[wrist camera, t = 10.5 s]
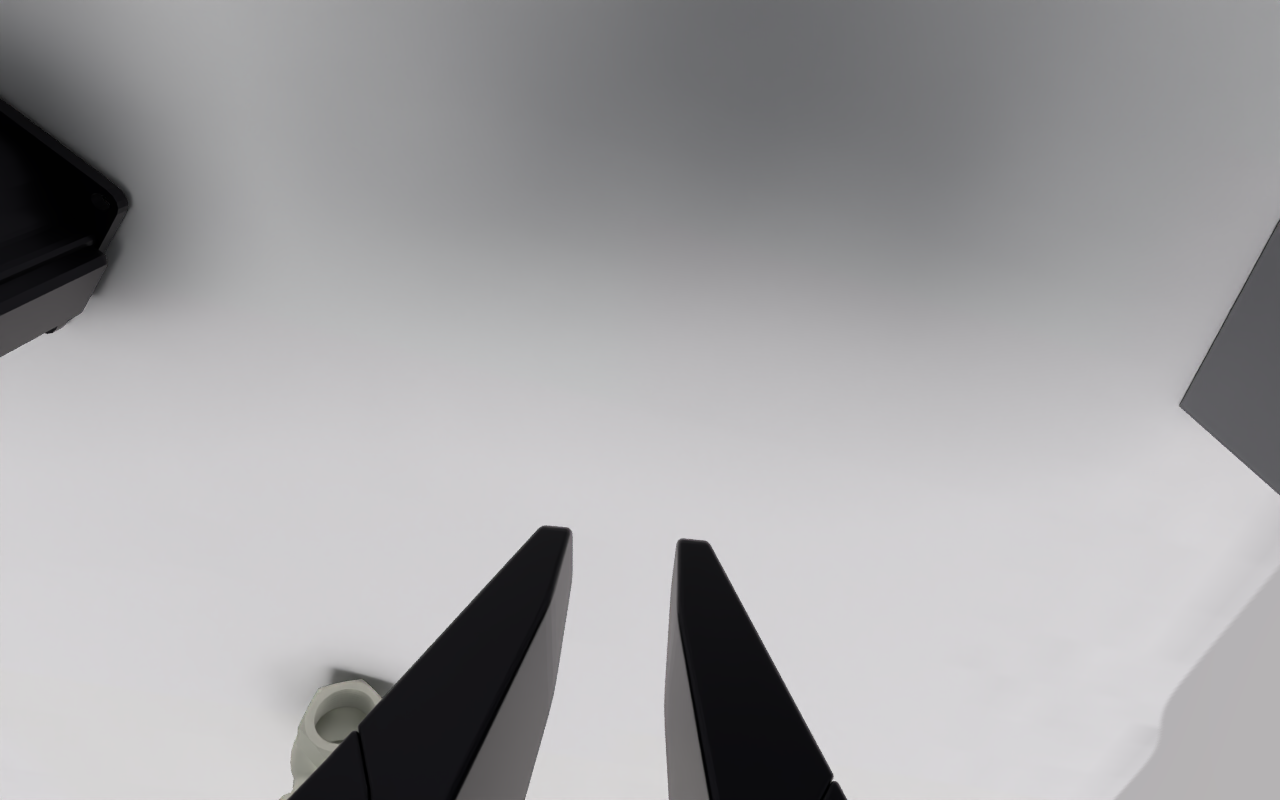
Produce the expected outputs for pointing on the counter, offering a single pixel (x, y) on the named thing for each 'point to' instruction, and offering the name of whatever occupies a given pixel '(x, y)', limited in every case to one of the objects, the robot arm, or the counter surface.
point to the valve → (328, 725)
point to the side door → (1246, 374)
